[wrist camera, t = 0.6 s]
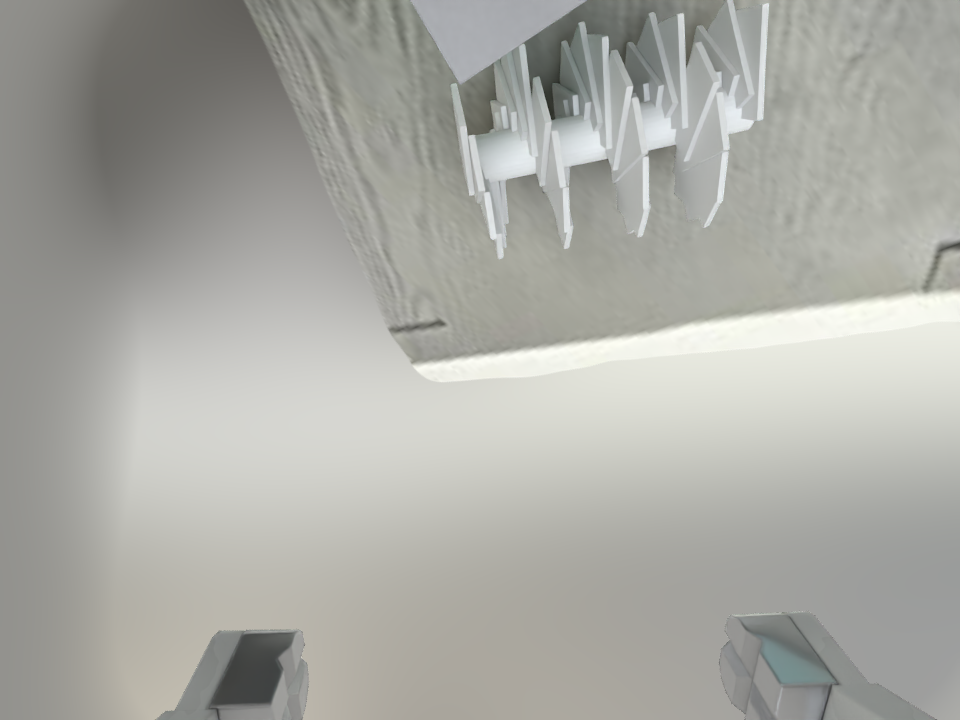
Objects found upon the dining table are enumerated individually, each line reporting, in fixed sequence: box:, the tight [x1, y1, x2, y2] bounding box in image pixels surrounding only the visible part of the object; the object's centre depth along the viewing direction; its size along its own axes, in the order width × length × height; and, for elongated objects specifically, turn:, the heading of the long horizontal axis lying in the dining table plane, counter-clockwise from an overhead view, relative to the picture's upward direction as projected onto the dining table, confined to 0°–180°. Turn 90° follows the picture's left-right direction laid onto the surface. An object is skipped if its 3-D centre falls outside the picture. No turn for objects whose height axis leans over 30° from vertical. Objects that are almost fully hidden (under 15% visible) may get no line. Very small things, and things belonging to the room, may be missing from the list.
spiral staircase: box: [450, 0, 769, 259], centre depth 49 cm, size 18×18×25 cm
